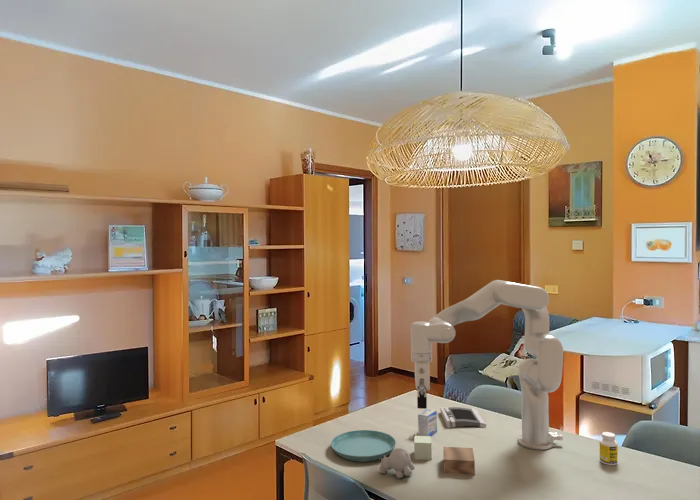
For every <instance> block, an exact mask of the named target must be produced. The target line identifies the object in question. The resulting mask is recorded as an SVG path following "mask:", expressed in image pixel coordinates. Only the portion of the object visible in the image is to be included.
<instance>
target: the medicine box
mask: <svg viewBox="0 0 700 500" xmlns="http://www.w3.org/2000/svg"><path fill="white" fill-rule="evenodd" d="M417 427H418V429H417V430H418V436H431V437H432V435H434V434H436V433H437V432H438V413H437V410H435V409H431V408H426V409H424V410H423V411H422V412H420V413H419V414H417ZM435 432H436V433H435Z"/></svg>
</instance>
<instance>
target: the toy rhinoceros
mask: <svg viewBox="0 0 700 500" xmlns="http://www.w3.org/2000/svg"><path fill="white" fill-rule="evenodd" d="M380 460H381V462H380V464H379V463H377V467H378V468H379V472H380V473H381V474H387V472H388V471H391V470H392V469H393V471H394V472H395V477H396V478H397V479H402V478H403V477H409V476H411V475H412V474H413V470H415V468H416V467H415V465H414V462H412V460H411V456H410V454H409V452H408V451H407V450H406V449H403V448H394V449H393V450H392V451H391V453H389V457H388V456H385V455H384V457H383V458H381V459H380Z"/></svg>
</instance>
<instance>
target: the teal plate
mask: <svg viewBox="0 0 700 500" xmlns="http://www.w3.org/2000/svg"><path fill="white" fill-rule="evenodd" d="M330 445H331V448H332V450H333V451H334V452H335V454H336V455H338V456H339V457H341V458H343V459H346V460H348V461H353V462H361V463H362V462H366V463H367V462H373V461H377V460H381V458H382V459H383V458H384V455H385V456H386V457H388V455H390V454H391V452H392V451H393V450H395V447H396V445H397V441H396V439H395V437H393V436H392V435H390V434H388V433H386V432H382V431H378V430H370V429H368V430H367V429H358V430H351V431H347V432H343V433H340V434H338V435H336V436H335V437H333V438H332V440H331V442H330Z"/></svg>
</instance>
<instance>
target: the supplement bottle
mask: <svg viewBox="0 0 700 500" xmlns="http://www.w3.org/2000/svg"><path fill="white" fill-rule="evenodd" d="M601 437H602V438H600V440H599V462H601V463H602V464H604V465H605V466H616V465H617V464H618V442H617V440H616V434H615V433H613V432H610V431H603V432H602V433H601Z"/></svg>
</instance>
